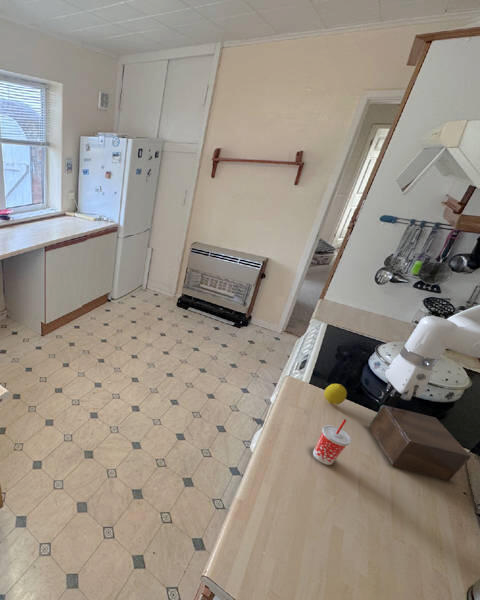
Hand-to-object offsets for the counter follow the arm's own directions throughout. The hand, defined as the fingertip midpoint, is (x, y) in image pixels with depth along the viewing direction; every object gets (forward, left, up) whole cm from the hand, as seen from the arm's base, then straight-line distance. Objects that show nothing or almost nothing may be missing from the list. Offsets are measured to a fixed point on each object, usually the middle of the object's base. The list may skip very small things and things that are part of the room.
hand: (387, 403), depth 102 cm
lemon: (+14, 0, -5) cm, 15 cm away
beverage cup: (+24, +26, -5) cm, 36 cm away
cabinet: (0, +15, -5) cm, 16 cm away
